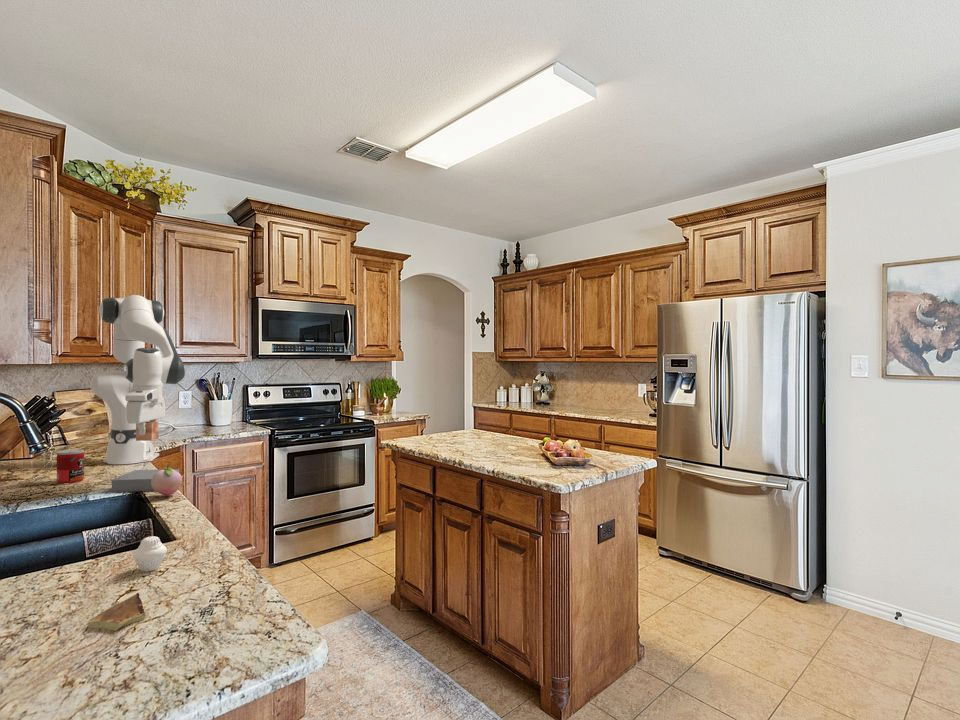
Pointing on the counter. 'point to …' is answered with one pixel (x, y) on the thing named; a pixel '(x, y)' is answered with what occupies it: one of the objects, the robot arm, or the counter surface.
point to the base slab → (135, 481)
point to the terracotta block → (148, 432)
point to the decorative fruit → (166, 481)
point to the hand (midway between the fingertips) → (147, 433)
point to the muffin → (150, 554)
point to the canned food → (70, 466)
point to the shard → (120, 614)
